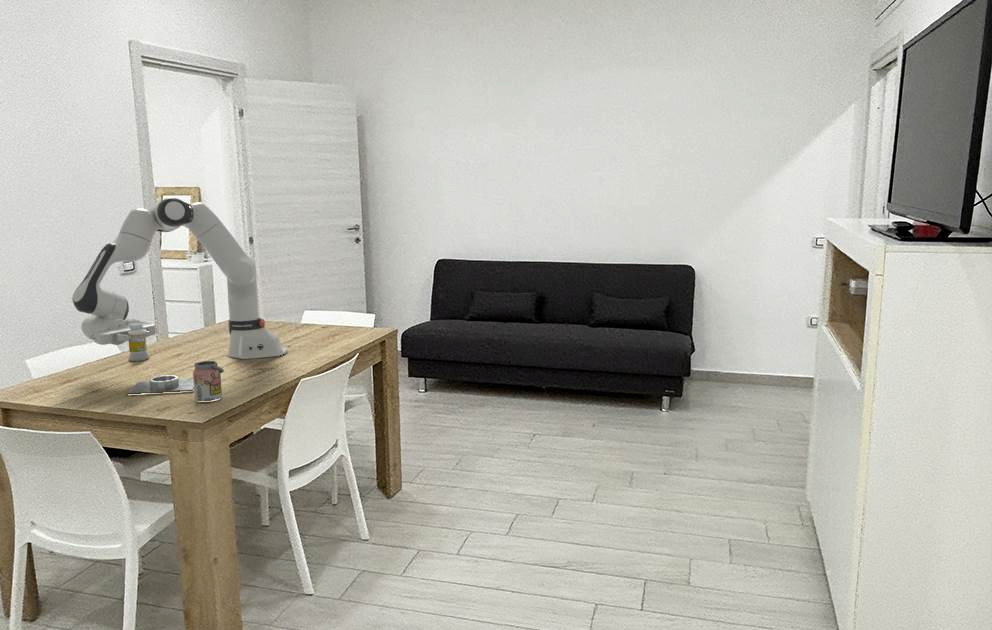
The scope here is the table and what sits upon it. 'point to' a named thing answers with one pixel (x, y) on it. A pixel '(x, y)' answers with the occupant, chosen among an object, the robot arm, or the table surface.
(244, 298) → the robot arm
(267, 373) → the table surface
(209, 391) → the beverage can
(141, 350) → the supplement bottle
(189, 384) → the collar plate
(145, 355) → the flask
